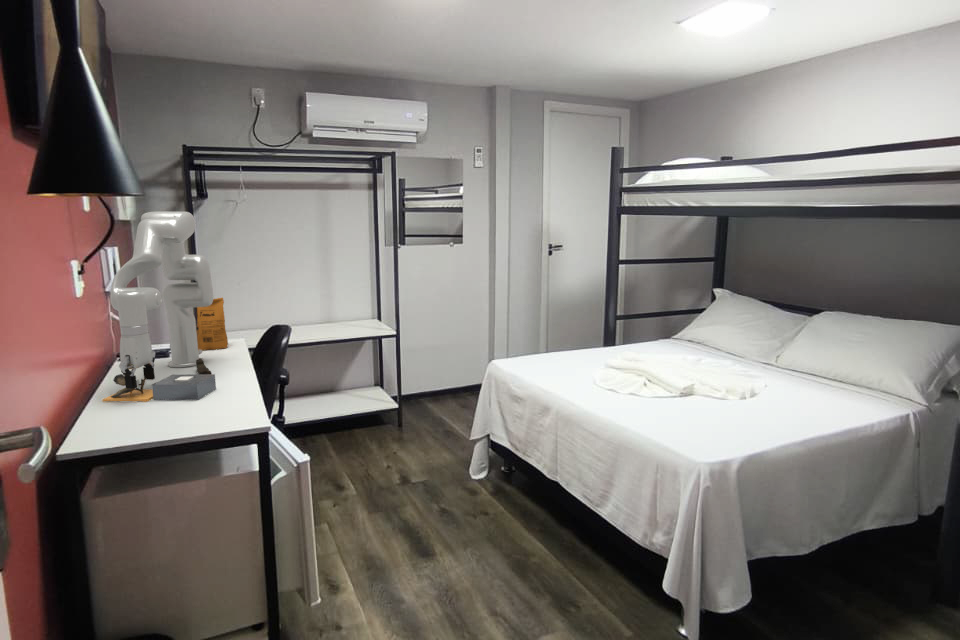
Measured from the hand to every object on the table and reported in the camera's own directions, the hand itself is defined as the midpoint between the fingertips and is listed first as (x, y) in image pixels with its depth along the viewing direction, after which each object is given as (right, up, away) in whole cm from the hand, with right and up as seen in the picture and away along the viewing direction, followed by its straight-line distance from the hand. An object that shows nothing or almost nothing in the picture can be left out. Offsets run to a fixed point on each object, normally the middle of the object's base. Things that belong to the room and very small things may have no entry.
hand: (140, 383), depth 185 cm
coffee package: (-10, +8, +72) cm, 73 cm away
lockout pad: (-2, -4, +1) cm, 5 cm away
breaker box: (+13, -4, +2) cm, 14 cm away
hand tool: (+7, 0, +26) cm, 27 cm away
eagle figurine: (-4, -4, 0) cm, 5 cm away
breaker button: (+13, -2, +2) cm, 13 cm away
